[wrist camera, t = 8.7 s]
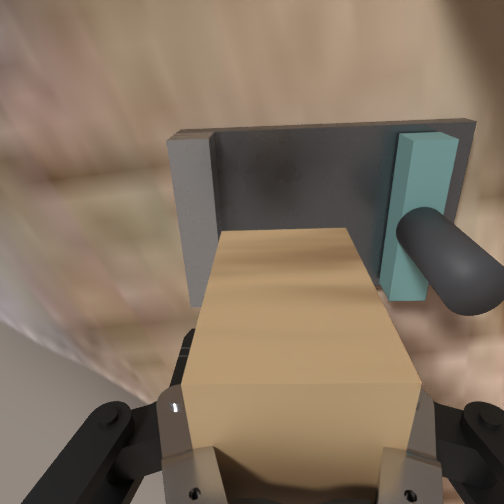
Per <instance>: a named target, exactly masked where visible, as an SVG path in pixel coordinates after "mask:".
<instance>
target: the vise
mask: <svg viewBox="0 0 504 504" xmlns="http://www.w3.org/2000/svg"><path fill="white" fill-rule="evenodd" d="M476 122H477V121H473V120H469V119H466V118H460V119H435V120H410V121H385V122H361V123H336V124H311V125H286V126H261V127H236V128H211V129H186V130H180V131H178V132H177V133H176V134H174V135H173V136H172V137H170V138H169V139H168V140H166V141H167V148H168V155H169V161H170V168H171V175H172V182H173V189H174V196H175V202H176V209H177V216H178V223H179V230H180V237H181V243H182V250H183V257H184V264H185V271H186V278H187V284H188V291H189V298H190V305H191V307H202V303H203V299H204V296H205V292H206V288H207V284H208V281H209V277H210V273H211V269H212V266H213V262H214V258H215V254H216V250H217V247H218V243H219V239H220V235H221V232H222V231H245V230H281V229H318V228H346V229H347V231H348V233H349V235H350V238H351V240H352V242H353V244H354V246H355V248H356V250H357V252H358V254H359V256H360V258H361V260H362V262H363V264H364V266H365V268H366V270H367V272H368V274H369V276H370V278H371V280H372V282H373V284H374V286H381V285H380V283H379V280H380V273H381V265H382V258H383V251H384V243H385V236H386V229H387V221H388V214H389V207H390V199H391V192H392V185H393V177H394V170H395V163H396V155H397V148H398V141H399V134H400V133H426V132H442V133H444V134H447V135H449V136H452V137H455V138H457V139H459V142H458V146H457V151H456V156H455V161H454V165H453V170H452V175H451V180H450V185H449V189H448V194H447V199H446V204H445V208H444V213H443V215H444V216H445V217H446V218H447V219H448V220H449V221H451V222H452V223H453V224H454V219H455V215H456V211H457V206H458V202H459V197H460V193H461V188H462V184H463V180H464V175H465V171H466V166H467V162H468V157H469V153H470V149H471V144H472V140H473V135H474V131H475V127H476ZM429 285H430V283H429Z"/></svg>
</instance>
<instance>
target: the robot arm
mask: <svg viewBox="0 0 504 504" xmlns="http://www.w3.org/2000/svg"><path fill="white" fill-rule="evenodd" d="M195 330H196V329H191V330H190V331H189V333H188V334H187V335H186V336H185V337H184V340H183V343H182V347H181V350H180V353H179V357H178V360H177V363H176V367H175V370H174V373H173V377H172V380H171V383H170V386H169V388H167V389H166V390H164V391H163V392H162V393H161V394H160V396H159V397H158V400H157V401H156V402H154V403H152V404H150V405H147V406H143V407H139V408H136V409H132V410H131V409H130V407H129V406H128V405H127V404H126V403H124V402H120V401H113V402H108V403H105V404H103V405H101V406H99V407H98V408H96V409H95V410H94V411H93V412H92V413H91V414H90V415H89V417H88V418H87V419H86V420H85V422H84V423H83V424H82V426H81V427H80V428H79V429H78V431H77V432H76V433H75V435H74V436H73V437H72V439H71V440H70V441H69V442H68V444H67V445H66V446H65V447H64V449H63V450H62V451H61V453H60V454H59V455H58V457H57V458H56V459H55V460H54V462H53V463H52V464H51V466H50V467H49V468H48V469H47V471H46V472H45V473H44V475H43V476H42V477H41V478H40V480H39V481H38V482H37V484H36V485H35V486H34V487H33V489H32V490H31V491H30V493H29V494H28V495H27V496H26V498H25V499H24V500H23V502H22V503H21V504H130V503H131V501H132V499H133V497H134V495H135V493H136V491H137V489H138V487H139V485H140V484H141V482H142V480H143V478H144V476H146V475H149V474H152V473H155V472H158V471H161V470H162V474H163V483H164V492H165V501H166V504H228V503H227V499H226V495H225V491H224V487H223V483H222V479H221V475H220V472H219V468H218V464H217V460H216V456H215V452H214V448H213V446H207V447H200V448H195V449H193V447H192V442H191V436H190V431H189V425H188V420H187V415H186V409H185V404H184V399H183V393H182V388H181V382H182V378H183V375H184V371H185V367H186V363H187V360H188V356H189V352H190V348H191V345H192V341H193V337H194V333H195ZM442 476H443V477H446V478H448V479H449V481H450V482H451V484H452V485H453V487H454V488H455V490H456V491H457V493H458V494H459V496H460V497H461V499H462V500H463V501H464V503H465V504H504V411H503V410H502V409H500V408H499V407H497V406H495V405H492V404H490V403H486V402H477V401H476V402H471V403H469V404H467V405H466V406H465V408H464V410H460V409H456V408H452V407H448V406H444V405H441V404H438V403H436V402H434V401H433V400H432V398H431V397H430V396H429V394H428V393H427V392H425V391H424V390H423V389H421V390H420V394H419V398H418V402H417V407H416V411H415V415H414V420H413V424H412V428H411V433H410V437H409V441H408V445H407V450H402V449H397V448H391V447H383V451H382V457H381V462H380V467H379V472H378V478H377V483H376V488H375V494H374V499H373V504H443V487H442ZM230 504H282V503H279V502H275V501H272V500H269V499H265V498H230ZM319 504H371V502H370V499H333V500H330V501H326V502H322V503H319Z"/></svg>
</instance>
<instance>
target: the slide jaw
mask: <svg viewBox="0 0 504 504" xmlns="http://www.w3.org/2000/svg"><path fill="white" fill-rule="evenodd" d="M458 142H459V139H457V138H455V137H452V136H449V135H447V134H444V133H442V132H426V133H400V134H399V141H398V148H397V155H396V163H395V170H394V177H393V185H392V192H391V199H390V207H389V214H388V221H387V229H386V236H385V243H384V251H383V258H382V265H381V273H380V280H379V283H380V285H381V287H382V289H383V291H384V293H385V294H386V296H387V298H388V300H389V301H425V299H426V294H427V289H428V285H429V283H430V285H431V286H432V287H433V289H434V290H435V291H436V293H437V294H438V295H439V297H440V298H441V299H442V301H443V302H444V303H445V305H446V306H447V307H448V308H449V309H450V310H451V311H452V312H454V313H456V314H459V315H465V316H474V315H479V314H483V313H486V312H488V311H490V310H492V309H494V308H495V307H497V306H498V305H499V304H500V303H501V302H502V301H503V300H504V266H502V265H501V264H500V263H499V262H498V261H497V260H495V259H494V258H493V257H492V256H491V255H490V254H488V253H487V252H486V251H485V250H484V249H482V248H481V247H480V246H479V245H478V244H477V243H475V242H474V241H473V240H472V239H471V238H469V237H468V236H467V235H466V234H465V233H464V232H462V231H461V230H460V229H459V228H458V227H457V226H455V225H454V224H453V223H452V222H451V221H449V220H448V219H447V218H446V217H445V216H444V215H443V213H444V208H445V204H446V199H447V194H448V189H449V185H450V180H451V175H452V170H453V165H454V161H455V156H456V151H457V146H458Z"/></svg>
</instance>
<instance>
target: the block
mask: <svg viewBox="0 0 504 504" xmlns="http://www.w3.org/2000/svg"><path fill="white" fill-rule="evenodd" d="M421 385H422V382H421V380H420V378H419V376H418V374H417V372H416V370H415V368H414V366H413V364H412V362H411V360H410V357H409V355H408V353H407V351H406V349H405V347H404V345H403V343H402V341H401V339H400V337H399V335H398V333H397V331H396V329H395V327H394V325H393V323H392V321H391V319H390V317H389V315H388V313H387V311H386V309H385V307H384V305H383V303H382V301H381V299H380V296H379V294H378V292H377V290H376V288H375V286H374V284H373V282H372V280H371V278H370V276H369V274H368V272H367V270H366V268H365V266H364V264H363V262H362V260H361V258H360V256H359V254H358V252H357V250H356V248H355V246H354V244H353V242H352V240H351V238H350V235H349V233H348V231H347V229H346V228H318V229H281V230H245V231H222V232H221V235H220V239H219V243H218V247H217V250H216V254H215V258H214V262H213V266H212V269H211V273H210V277H209V281H208V284H207V288H206V292H205V296H204V299H203V303H202V307H201V311H200V314H199V318H198V322H197V326H196V330H195V333H194V337H193V341H192V345H191V348H190V352H189V356H188V360H187V363H186V367H185V371H184V375H183V378H182V382H181V388H182V393H183V399H184V404H185V409H186V415H187V420H188V425H189V431H190V436H191V442H192V447H193V449H195V448H200V447H207V446H213V448H214V452H215V456H216V460H217V464H218V468H219V472H220V475H221V479H222V483H223V487H224V491H225V495H226V499H227V503H228V504H230V498H265V499H269V500H272V501H275V502H279V503H282V504H319V503H322V502H326V501H330V500H333V499H370V502H371V504H373V499H374V494H375V488H376V483H377V478H378V472H379V467H380V462H381V457H382V451H383V447H391V448H397V449H402V450H407V445H408V441H409V437H410V433H411V428H412V424H413V420H414V415H415V411H416V407H417V402H418V398H419V394H420V390H421Z"/></svg>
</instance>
